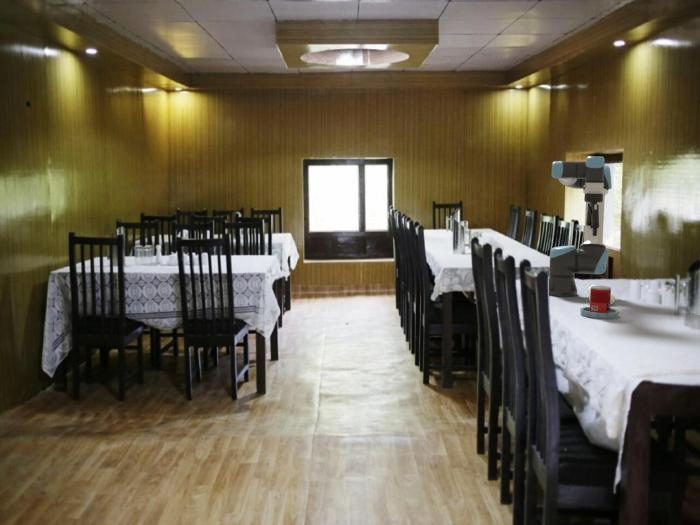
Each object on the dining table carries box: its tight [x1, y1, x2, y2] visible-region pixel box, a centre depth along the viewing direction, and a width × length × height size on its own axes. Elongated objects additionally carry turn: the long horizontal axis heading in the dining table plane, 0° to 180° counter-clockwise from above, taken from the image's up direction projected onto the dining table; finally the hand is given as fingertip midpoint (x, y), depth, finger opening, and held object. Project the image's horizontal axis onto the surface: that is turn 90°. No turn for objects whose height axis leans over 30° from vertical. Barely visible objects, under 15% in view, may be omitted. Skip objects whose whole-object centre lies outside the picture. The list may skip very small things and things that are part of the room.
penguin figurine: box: [587, 284, 616, 305], centre depth 345 cm, size 6×8×12 cm
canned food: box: [589, 285, 612, 313], centre depth 319 cm, size 8×8×11 cm
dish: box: [579, 306, 620, 320], centre depth 319 cm, size 15×15×2 cm
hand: (591, 242), depth 333 cm, fingers open, 13 cm apart
